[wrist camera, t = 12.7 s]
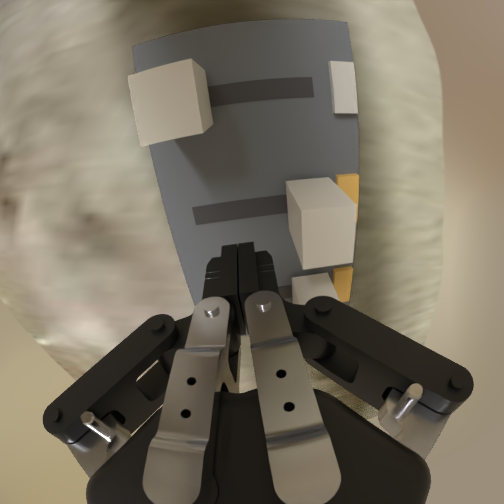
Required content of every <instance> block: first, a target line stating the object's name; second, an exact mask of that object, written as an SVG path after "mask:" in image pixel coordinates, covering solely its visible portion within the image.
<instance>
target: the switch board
mask: <svg viewBox="0 0 504 504" xmlns="http://www.w3.org/2000/svg"><path fill="white" fill-rule="evenodd" d="M132 48H133V56H134V63H135V70H136V73H138V72H142V71H145V70H148V69H151V68H155V67H158V66H162V65H166V64H170V63H174V62H178V61H182V60H186V59H193V60H194V61H195V62H196V63H197V64H198V65H200V66H201V67H202V68H203V69H204V70H205V73H206V79H207V86H208V93H209V99H210V105H211V112H212V118H213V125H212V126H211V127H210V128H208V129H207V130H206V131H205V132H204V133H202V134H196V135H191V136H186V137H181V138H177V139H172V140H168V141H163V142H159V143H155V144H151V145H149V147H150V151H151V156H152V160H153V164H154V169H155V173H156V177H157V181H158V185H159V189H160V193H161V197H162V201H163V204H164V208H165V212H166V216H167V219H168V223H169V226H170V230H171V233H172V237H173V240H174V243H175V247H176V250H177V253H178V257H179V260H180V263H181V266H182V269H183V272H184V275H185V279H186V282H187V285H188V288H189V291H190V294H191V296H192V299H193V302H194V305H195V306H196V305H197V304H198V303H199V302H200V301H202V296H203V288H204V281H205V274H206V267H207V264H208V262H209V261H210V260H211V258H213V257H221V247H222V246H224V245H231V244H237V245H238V243H245V242H252V241H254V247H255V252H257V251H265V250H266V251H267V252H268V253H269V254H270V255H271V256H272V259H273V264H274V269H275V274H276V279H277V284H278V289H279V293H280V295H281V297H282V298H283V299H284V300H286V301H287V302H290V303H293V297H292V277H299V276H307V275H314V274H320V273H327V272H328V275H329V277H330V279H331V281H332V284H333V286H334V288H335V291H336V293H337V295H338V298H339V300H340V302H342V303H344V304H346V305H348V303H349V297H350V290H351V282H352V274H353V263H354V254H353V263H346V264H340V265H333V266H326V267H319V268H312V269H305V270H303V268H302V265H301V262H300V259H299V256H298V253H297V250H296V248H295V245H294V242H293V239H292V236H291V233H290V231H289V222H288V208H287V195H286V182H285V181H291V180H301V179H312V178H324V177H329V178H330V179H331V180H332V181H333V182H334V183H335V184H336V185H337V186H338V187H339V188H340V189H341V190H342V191H343V192H344V193H345V194H346V195H347V196H348V197H349V198H350V199H351V200H352V201H353V202H354V203H355V204H356V205H357V213H356V229H357V217H358V196H359V136H358V107H357V93H356V81H355V71H354V63H353V57H352V49H351V42H350V36H349V30H348V24H347V22H341V21H330V20H314V19H272V20H256V21H244V22H235V23H227V24H220V25H214V26H208V27H203V28H198V29H193V30H188V31H184V32H179V33H175V34H171V35H167V36H164V37H160V38H157V39H153V40H150V41H147V42H144V43H141V44H138V45H135V46H132ZM355 242H356V230H355ZM354 253H355V243H354ZM246 335H249V334H248V332H247V328H246ZM240 336H245V335H240Z"/></svg>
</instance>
